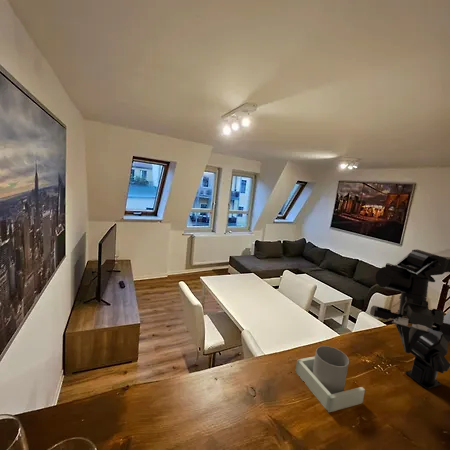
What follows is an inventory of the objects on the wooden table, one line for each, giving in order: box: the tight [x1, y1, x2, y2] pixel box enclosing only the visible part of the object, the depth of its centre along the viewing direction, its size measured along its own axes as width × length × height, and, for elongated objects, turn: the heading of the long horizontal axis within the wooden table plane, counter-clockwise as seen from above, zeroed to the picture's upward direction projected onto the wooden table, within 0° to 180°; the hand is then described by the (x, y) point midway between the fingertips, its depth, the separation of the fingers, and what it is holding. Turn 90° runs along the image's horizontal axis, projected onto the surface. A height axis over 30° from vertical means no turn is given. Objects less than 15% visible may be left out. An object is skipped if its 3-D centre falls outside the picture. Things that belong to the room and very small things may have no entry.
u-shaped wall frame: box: [295, 355, 366, 413], centre depth 69 cm, size 11×14×4 cm
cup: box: [311, 345, 350, 394], centre depth 68 cm, size 8×8×10 cm
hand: (407, 352), depth 67 cm, fingers closed
